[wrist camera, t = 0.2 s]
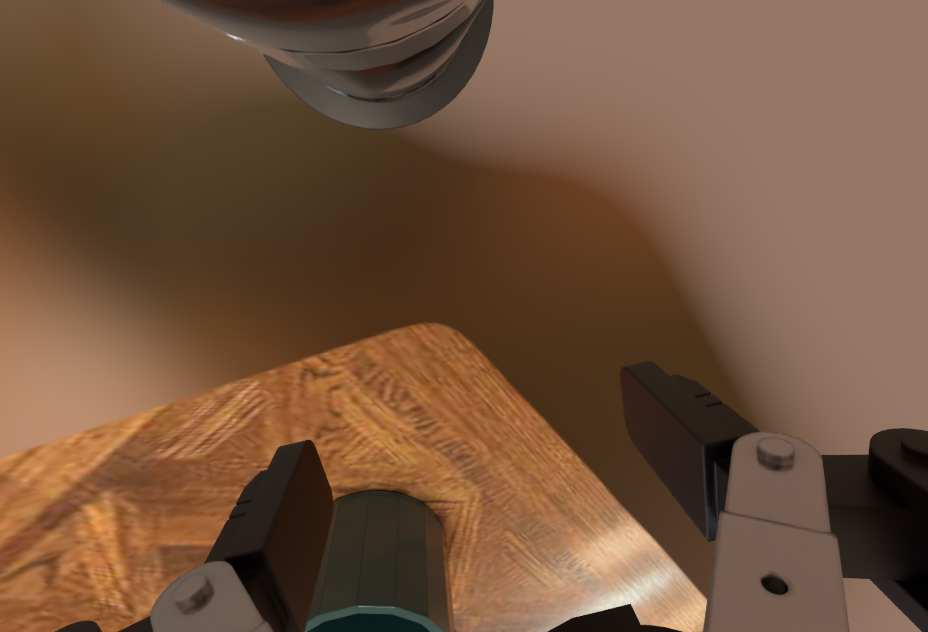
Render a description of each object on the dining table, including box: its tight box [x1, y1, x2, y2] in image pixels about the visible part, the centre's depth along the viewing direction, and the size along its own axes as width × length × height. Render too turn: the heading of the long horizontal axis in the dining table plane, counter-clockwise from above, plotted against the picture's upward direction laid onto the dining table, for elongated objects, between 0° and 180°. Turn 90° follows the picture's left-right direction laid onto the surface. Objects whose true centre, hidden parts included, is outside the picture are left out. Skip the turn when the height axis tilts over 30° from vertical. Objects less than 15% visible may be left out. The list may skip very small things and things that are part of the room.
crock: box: [305, 491, 455, 632], centre depth 30 cm, size 10×10×8 cm
